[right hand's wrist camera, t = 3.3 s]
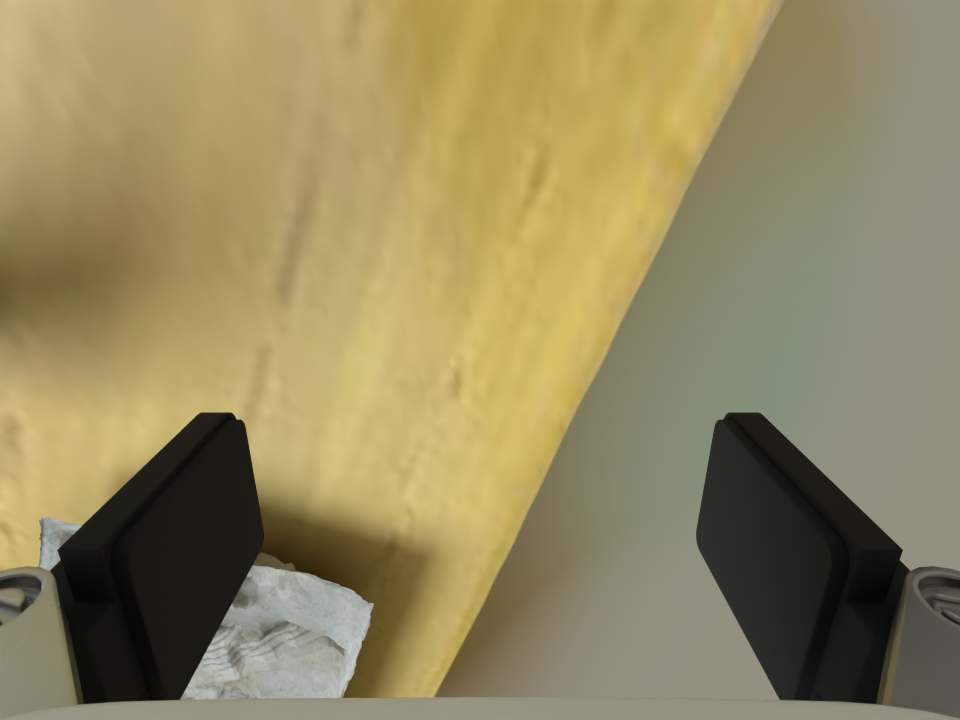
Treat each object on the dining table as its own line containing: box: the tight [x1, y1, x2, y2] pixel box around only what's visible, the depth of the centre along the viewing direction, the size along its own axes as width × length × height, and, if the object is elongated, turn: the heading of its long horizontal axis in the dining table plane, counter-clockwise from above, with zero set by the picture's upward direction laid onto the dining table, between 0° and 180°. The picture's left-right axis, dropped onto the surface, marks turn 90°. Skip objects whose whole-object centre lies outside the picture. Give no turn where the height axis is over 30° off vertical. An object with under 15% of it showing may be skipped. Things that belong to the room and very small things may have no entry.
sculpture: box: [39, 517, 374, 700], centre depth 55 cm, size 38×6×30 cm
